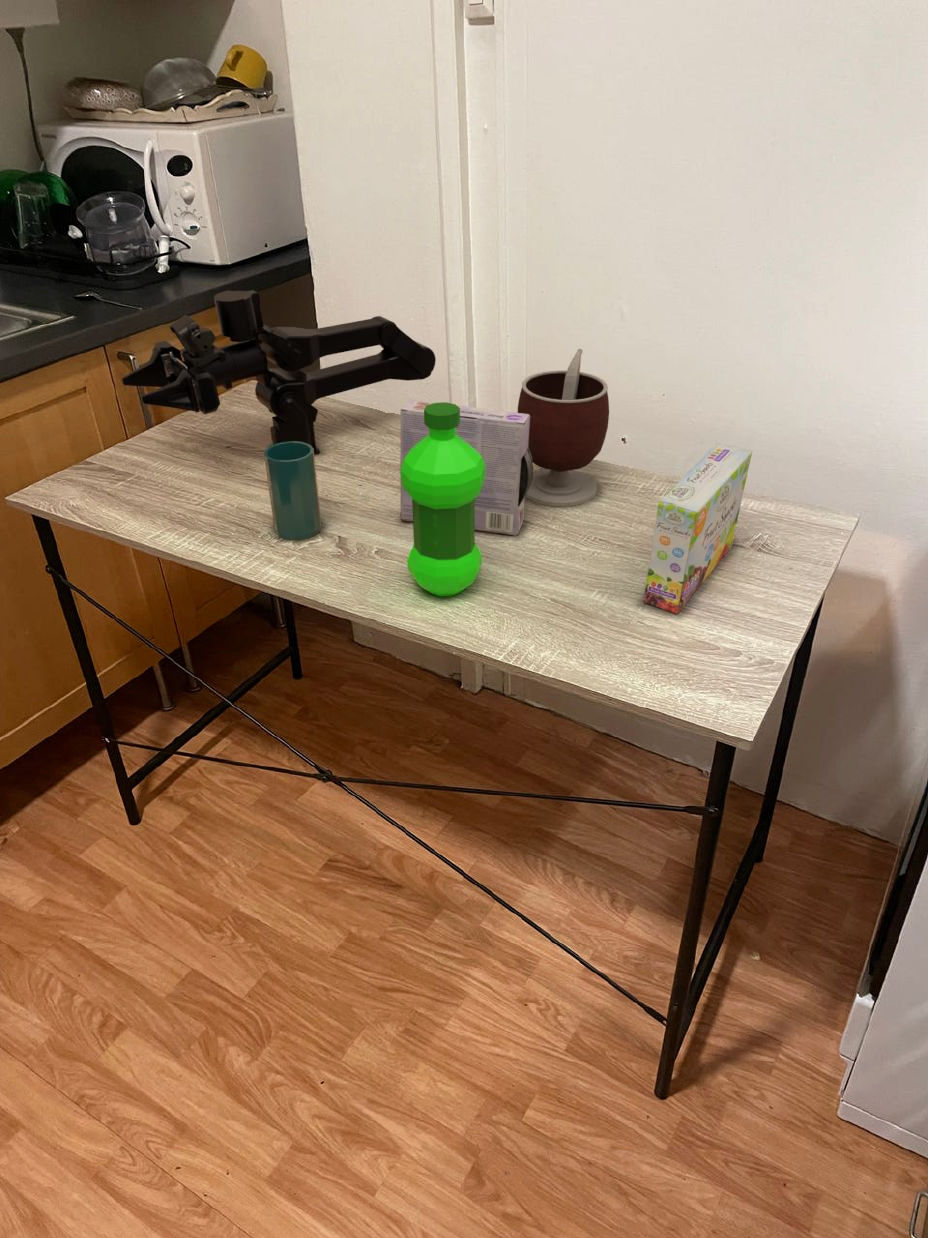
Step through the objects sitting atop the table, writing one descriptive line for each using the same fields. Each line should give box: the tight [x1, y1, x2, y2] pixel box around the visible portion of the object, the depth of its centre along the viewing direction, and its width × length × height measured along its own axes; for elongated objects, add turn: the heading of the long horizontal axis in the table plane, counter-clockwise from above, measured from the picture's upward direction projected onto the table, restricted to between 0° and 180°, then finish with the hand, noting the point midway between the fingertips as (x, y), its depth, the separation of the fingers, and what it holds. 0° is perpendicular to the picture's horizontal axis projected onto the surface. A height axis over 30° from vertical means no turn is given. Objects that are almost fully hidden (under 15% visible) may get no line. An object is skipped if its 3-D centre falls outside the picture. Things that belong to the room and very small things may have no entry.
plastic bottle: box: [399, 401, 485, 597], centre depth 116 cm, size 10×10×25 cm
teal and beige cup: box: [263, 441, 322, 541], centre depth 133 cm, size 7×7×12 cm
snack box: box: [642, 443, 753, 614], centre depth 121 cm, size 21×6×15 cm, turn 148°
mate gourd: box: [517, 348, 610, 508], centre depth 142 cm, size 16×14×20 cm
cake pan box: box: [399, 399, 534, 537], centre depth 133 cm, size 19×5×18 cm, turn 75°
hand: (132, 390), depth 138 cm, fingers open, 9 cm apart
